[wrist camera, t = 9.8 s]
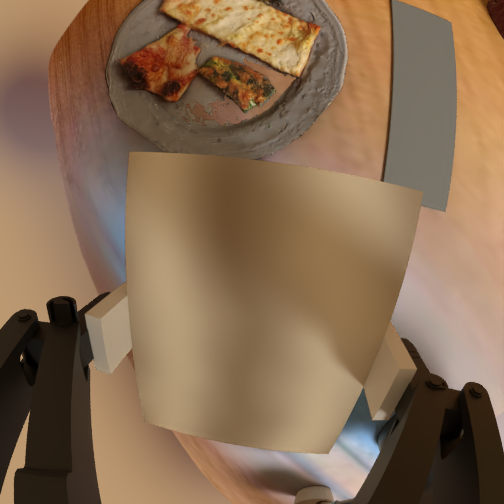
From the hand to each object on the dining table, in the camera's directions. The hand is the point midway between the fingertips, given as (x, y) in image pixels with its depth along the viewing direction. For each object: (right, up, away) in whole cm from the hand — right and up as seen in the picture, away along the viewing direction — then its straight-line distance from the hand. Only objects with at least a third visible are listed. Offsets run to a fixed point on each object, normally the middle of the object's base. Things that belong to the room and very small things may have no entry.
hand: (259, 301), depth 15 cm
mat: (+18, +19, +7) cm, 27 cm away
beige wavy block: (0, 0, 0) cm, 0 cm away
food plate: (-4, +23, +9) cm, 25 cm away
